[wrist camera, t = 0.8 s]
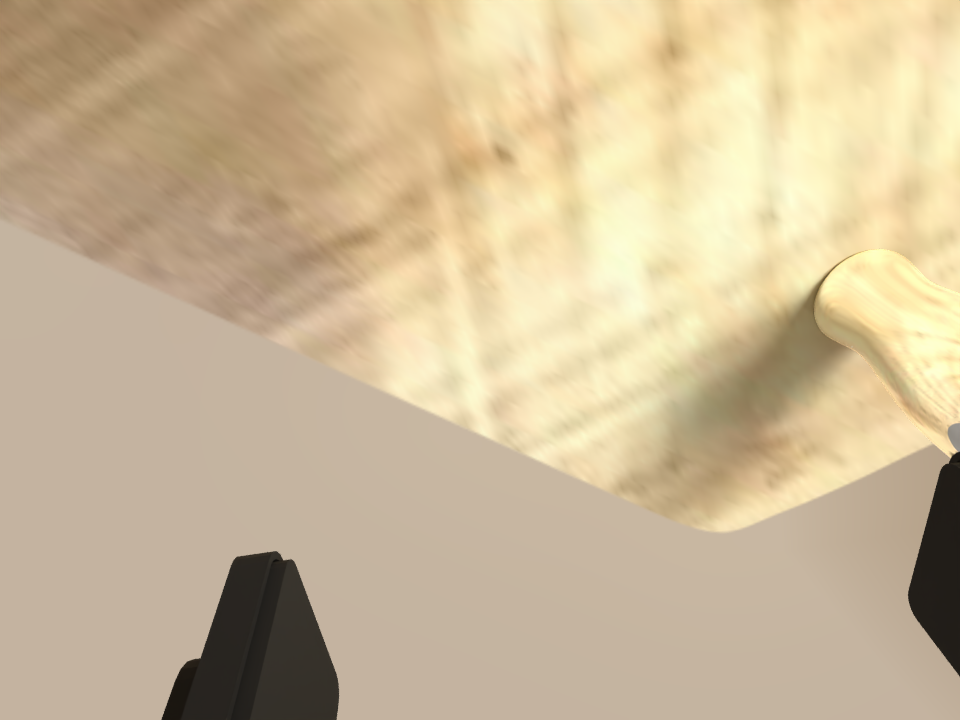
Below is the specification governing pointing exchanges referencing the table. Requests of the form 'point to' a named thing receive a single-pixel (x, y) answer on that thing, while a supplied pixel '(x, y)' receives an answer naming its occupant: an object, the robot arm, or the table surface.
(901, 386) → the beer glass
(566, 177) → the table surface
